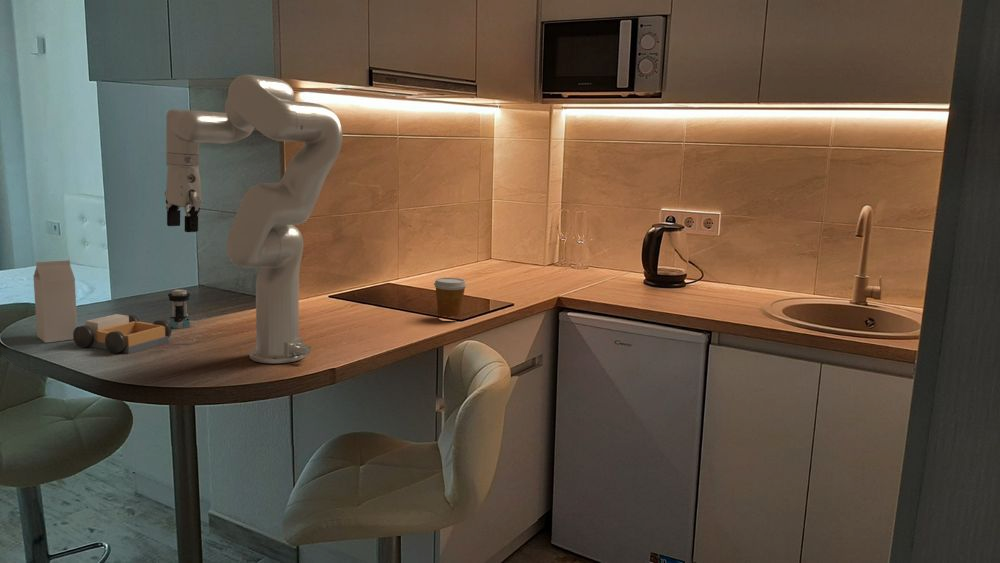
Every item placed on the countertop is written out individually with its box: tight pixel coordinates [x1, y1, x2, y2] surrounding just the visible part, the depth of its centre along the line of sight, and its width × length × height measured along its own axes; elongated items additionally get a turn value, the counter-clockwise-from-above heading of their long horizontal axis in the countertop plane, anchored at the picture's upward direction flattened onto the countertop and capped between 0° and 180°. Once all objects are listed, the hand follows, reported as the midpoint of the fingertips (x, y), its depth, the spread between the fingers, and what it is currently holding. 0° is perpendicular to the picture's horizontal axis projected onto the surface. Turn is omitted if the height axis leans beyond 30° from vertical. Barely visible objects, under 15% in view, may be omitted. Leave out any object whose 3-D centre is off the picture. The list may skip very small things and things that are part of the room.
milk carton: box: [33, 259, 78, 344], centre depth 181 cm, size 7×7×19 cm
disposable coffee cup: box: [433, 277, 467, 317], centre depth 222 cm, size 10×10×12 cm
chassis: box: [73, 313, 172, 354], centre depth 181 cm, size 16×15×6 cm
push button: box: [167, 288, 197, 330], centre depth 198 cm, size 7×5×10 cm
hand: (182, 228), depth 189 cm, fingers open, 9 cm apart
